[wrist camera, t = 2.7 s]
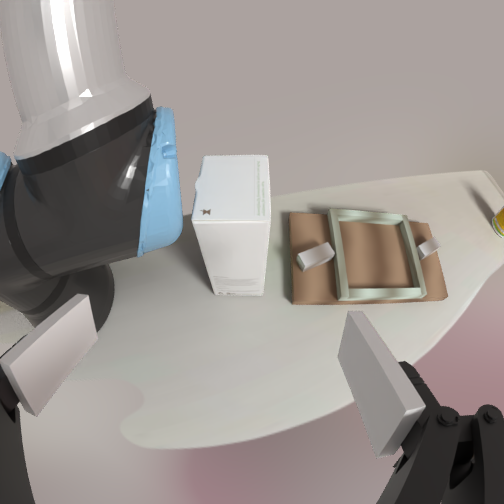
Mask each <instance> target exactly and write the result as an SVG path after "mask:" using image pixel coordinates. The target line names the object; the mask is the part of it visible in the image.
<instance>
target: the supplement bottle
mask: <svg viewBox="0 0 504 504" xmlns="http://www.w3.org/2000/svg"><path fill="white" fill-rule="evenodd" d="M492 225H493V228H494V230H495V232H496V233H497V234H498V235H499V236H500V237H502V238H504V206H503V207H502V208H501V210H500V211H499V212H498V213H497V214H496V215H495V216H494V217H493V218H492Z"/></svg>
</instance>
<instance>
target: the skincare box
mask: <svg viewBox="0 0 504 504" xmlns="http://www.w3.org/2000/svg"><path fill="white" fill-rule="evenodd" d="M195 190H196V194H195V199H194V205H193V211H192V223H193V227H194V230H195V233H196V237H197V240H198V243H199V246H200V250H201V253H202V256H203V259H204V263H205V266H206V269H207V272H208V276H209V279H210V282H211V285H212V288H213V292H214V294H215V295H243V296H262V295H263V292H264V282H265V271H266V263H267V252H268V243H269V233H270V223H271V203H270V179H269V164H268V156H267V155H224V156H223V155H217V156H203V160H202V165H201V168H200V173H199V177H198V179H197V181H196V183H195Z"/></svg>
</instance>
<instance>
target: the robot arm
mask: <svg viewBox="0 0 504 504" xmlns="http://www.w3.org/2000/svg"><path fill="white" fill-rule="evenodd" d="M0 28H1V36H2V43H3V49H4V55H5V60H6V65H7V70H8V75H9V79H10V83H11V87H12V91H13V94H14V98H15V101H16V104H17V108H18V111H19V114H20V117H21V120H22V126H21V131H20V134H19V137H18V140H17V143H16V146H15V149H14V152H13V153H14V157H15V159H16V162H17V165H13V164H12V162H11V158H10V156H7V155H6V154H5V153H3V152H0V300H1V301H3V302H4V303H6V304H8V305H9V306H11V307H13V308H14V309H16V310H18V311H20V312H22V313H23V314H24V315H25V317H26V318H27V319H28V320H29V322H30V323H31V324H32V325H33V326H34V327H35V329H33V330H32V331H31V332H30V333H29V334H27V335H25V336H23V337H22V338H21V339H20V340H19V341H18V342H17V343H15V344H14V345H13V346H12V348H10V349H9V350H7V351H6V352H5V353H4V354H3V355H2V356H1V357H0V504H35V501H34V498H33V494H32V491H31V486H30V482H29V478H28V473H27V468H26V463H25V458H24V452H23V451H24V450H23V444H22V435H21V425H20V411H19V408H18V407H17V404H18V403H19V401H20V402H21V404H22V406H23V408H24V409H25V410H26V411H27V412H28V413H31V414H32V415H34V416H36V417H37V416H38V415H39V413H40V412H41V411H42V409H43V408H44V407H45V405H46V404H47V403H48V401H49V400H50V398H51V397H52V396H53V394H54V393H55V392H56V391H57V389H58V388H59V387H60V386H61V384H62V383H63V382H64V380H65V379H66V378H67V377H68V375H69V374H70V373H71V372H72V370H73V369H74V368H75V367H76V365H77V364H78V363H79V362H80V360H81V359H82V358H83V357H84V356H85V354H86V353H87V352H88V351H89V350H90V348H91V347H92V346H93V345H94V344H95V342H96V341H97V340H98V336H97V332H98V331H99V330H100V328H101V327H102V326H103V324H104V323H105V321H106V319H107V317H108V315H109V313H110V310H111V307H112V303H113V298H114V279H113V274H112V271H111V269H110V267H109V265H108V264H109V263H113V262H116V261H120V260H124V259H128V258H132V257H136V256H137V258H138V257H140V256H142V255H143V254H144V253H146V252H149V251H152V250H155V249H159V248H162V247H165V246H168V245H171V244H172V243H174V242H175V241H176V240H177V238H178V237H179V236H180V234H181V232H182V229H183V214H182V203H181V192H180V182H179V172H178V161H177V155H176V152H177V150H176V135H175V124H174V114H173V110H172V109H171V108H163V107H157V108H156V110H154V108H153V104H152V99H151V94H150V90H149V88H148V87H146V86H144V85H142V84H140V83H138V82H137V81H134V80H133V79H131V78H129V77H128V76H127V75H126V72H125V68H124V63H123V58H122V52H121V46H120V40H119V34H118V28H117V21H116V14H115V5H114V0H0ZM338 359H339V362H340V364H341V367H342V369H343V372H344V374H345V377H346V379H347V382H348V384H349V387H350V389H351V392H352V394H353V397H354V400H355V402H356V404H357V407H358V409H359V412H360V415H361V418H362V420H363V423H364V426H365V428H366V431H367V434H368V436H369V439H370V442H371V445H372V448H373V450H374V453H375V456H376V458H381V457H385V456H389V455H393V454H395V453H396V451H397V450H398V449H399V447H400V446H402V449H403V451H404V453H403V454H402V456H401V457H400V458H399V460H398V461H397V462H396V463H395V465H394V466H393V467H394V468H395V467H396V468H395V470H394V472H393V474H392V476H391V478H390V480H389V482H388V484H387V486H386V487H385V489H384V491H383V493H382V495H381V496H380V498H379V500H378V502H377V503H376V504H440V503H441V504H504V418H503V415H502V413H501V411H500V410H499V409H498V408H497V407H495V406H493V405H483V406H481V407H480V408H479V409H478V411H477V413H476V414H475V415H469V416H468V415H467V416H460V415H459V413H458V412H457V411H455V410H454V409H452V408H450V407H446V406H440V404H439V403H438V401H437V400H436V398H435V397H434V395H433V394H432V392H431V391H430V389H429V388H428V387H427V385H426V384H424V381H423V379H422V378H421V377H420V375H419V374H418V372H417V371H416V369H415V368H414V367H413V366H411V365H410V364H409V363H407V362H406V361H403V362H397V360H396V359H395V357H394V356H393V354H392V353H391V351H390V350H389V348H388V347H387V345H386V344H385V342H384V341H383V340H382V338H381V337H380V335H379V334H378V332H377V331H376V330H375V328H374V327H373V325H372V324H371V322H370V321H369V320H368V318H367V317H366V315H365V314H364V313H363V311H348V313H347V318H346V323H345V327H344V332H343V336H342V340H341V345H340V349H339V353H338ZM441 500H442V501H441Z"/></svg>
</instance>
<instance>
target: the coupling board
mask: <svg viewBox="0 0 504 504" xmlns="http://www.w3.org/2000/svg"><path fill="white" fill-rule="evenodd" d="M289 234H290V255H291V280H292V304H293V305H340V304H382V303H406V302H424V301H439V300H444V299H445V298H447V297H448V294H447V290H446V285H445V281H444V277H443V273H442V269H441V265H440V261H439V257H438V254H437V249H438V248H439V247H440V246H441V245H440V244H439V242H438V241H437V239H436V238H435V237H432V234H431V231H430V228H429V225H428V223H419V222H409V221H408V218H407V215H399V214H389V213H379V212H369V211H357V210H345V209H332V208H330V209H329V212H328V214H327V215H324V214H308V213H290V215H289Z"/></svg>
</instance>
